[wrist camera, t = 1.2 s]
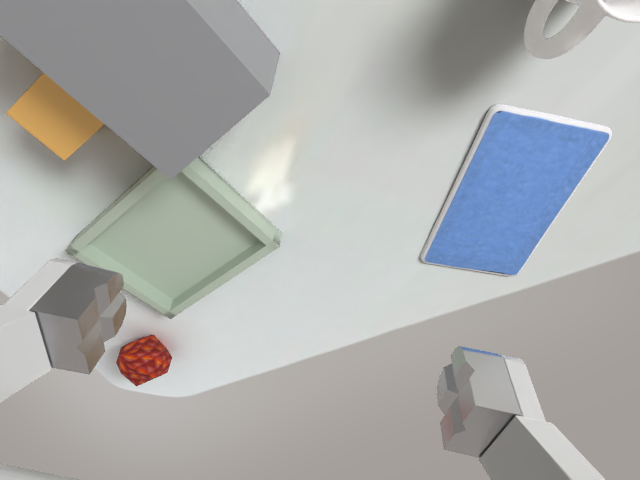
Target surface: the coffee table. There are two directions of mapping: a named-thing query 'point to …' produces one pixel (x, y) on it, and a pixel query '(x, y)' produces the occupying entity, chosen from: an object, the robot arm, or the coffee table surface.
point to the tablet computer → (512, 189)
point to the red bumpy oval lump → (143, 360)
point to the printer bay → (150, 66)
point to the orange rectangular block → (54, 117)
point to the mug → (573, 24)
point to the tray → (176, 237)
